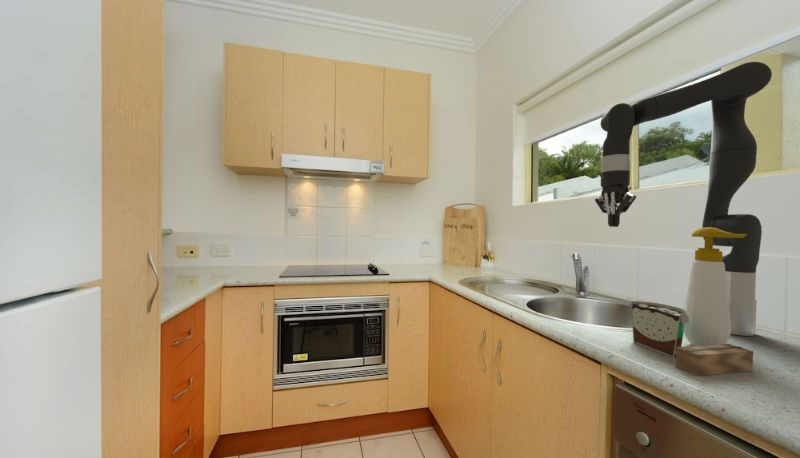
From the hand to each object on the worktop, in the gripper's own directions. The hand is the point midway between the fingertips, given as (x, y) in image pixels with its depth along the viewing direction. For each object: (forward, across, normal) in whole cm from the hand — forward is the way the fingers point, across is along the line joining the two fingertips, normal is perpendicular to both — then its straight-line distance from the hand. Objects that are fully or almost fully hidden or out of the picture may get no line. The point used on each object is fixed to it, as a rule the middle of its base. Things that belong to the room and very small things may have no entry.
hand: (613, 226), depth 97 cm
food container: (+29, -22, +8) cm, 38 cm away
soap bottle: (+29, -24, -4) cm, 38 cm away
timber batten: (+29, -33, +9) cm, 45 cm away
